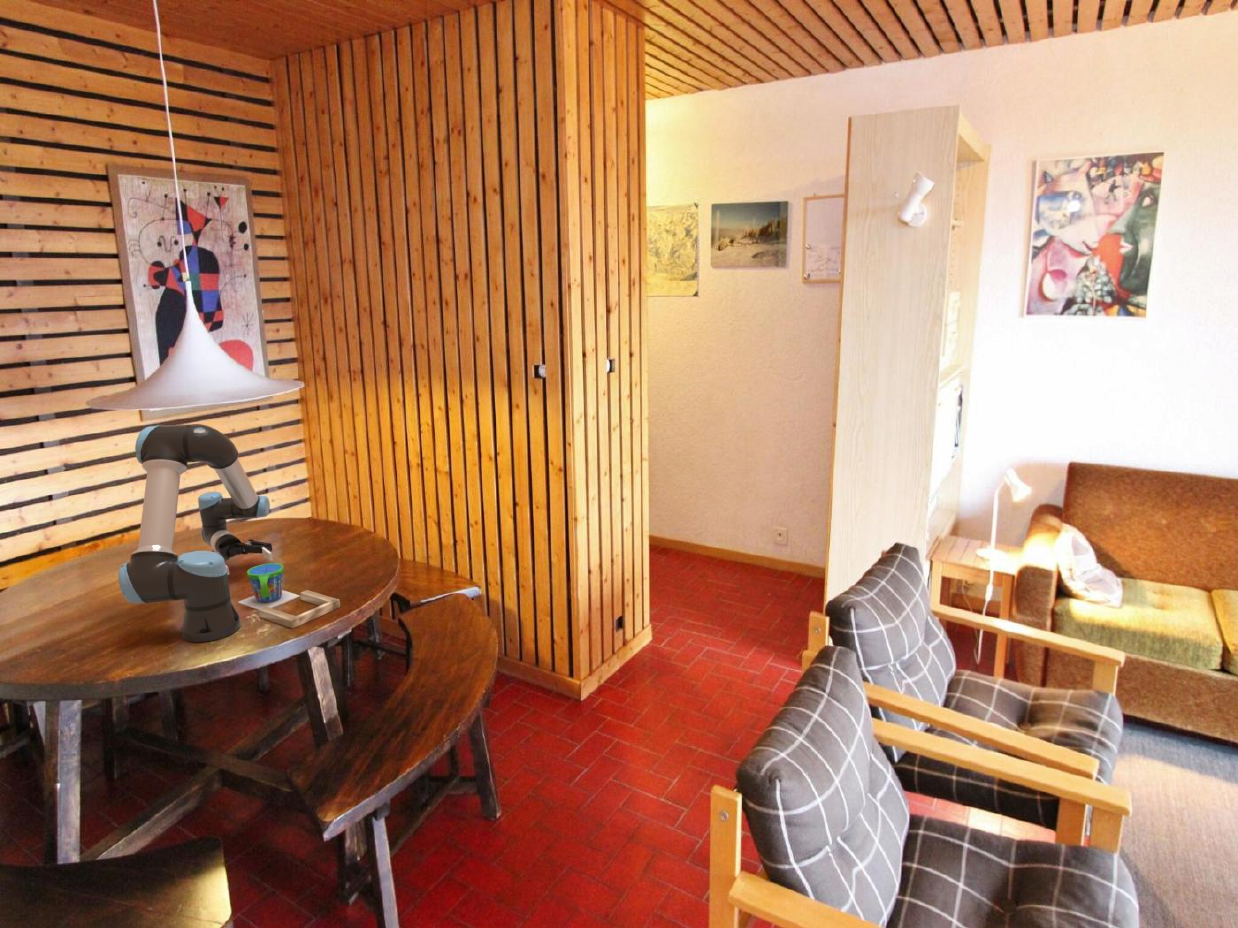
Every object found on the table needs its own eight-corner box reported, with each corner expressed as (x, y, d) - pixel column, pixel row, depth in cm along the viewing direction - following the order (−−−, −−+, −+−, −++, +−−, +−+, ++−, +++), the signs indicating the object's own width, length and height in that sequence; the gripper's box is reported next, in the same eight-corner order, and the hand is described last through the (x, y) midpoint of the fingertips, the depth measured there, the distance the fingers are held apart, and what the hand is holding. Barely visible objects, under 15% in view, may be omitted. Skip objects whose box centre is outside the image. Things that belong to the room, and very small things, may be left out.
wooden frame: (292, 628, 220) (291, 620, 219) (259, 617, 227) (258, 609, 227) (340, 607, 234) (339, 599, 233) (307, 597, 242) (306, 589, 241)
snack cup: (257, 590, 246) (253, 561, 244) (291, 587, 248) (287, 558, 246) (245, 610, 231) (241, 579, 229) (282, 606, 234) (278, 576, 231)
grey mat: (263, 611, 231) (263, 610, 231) (237, 603, 238) (237, 601, 238) (300, 596, 242) (299, 595, 242) (274, 588, 249) (274, 587, 248)
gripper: (265, 542, 267) (290, 561, 252) (189, 566, 250) (210, 587, 236) (261, 523, 264) (286, 541, 250) (184, 545, 248) (206, 566, 233)
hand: (249, 563), depth 243 cm, fingers open, 13 cm apart
